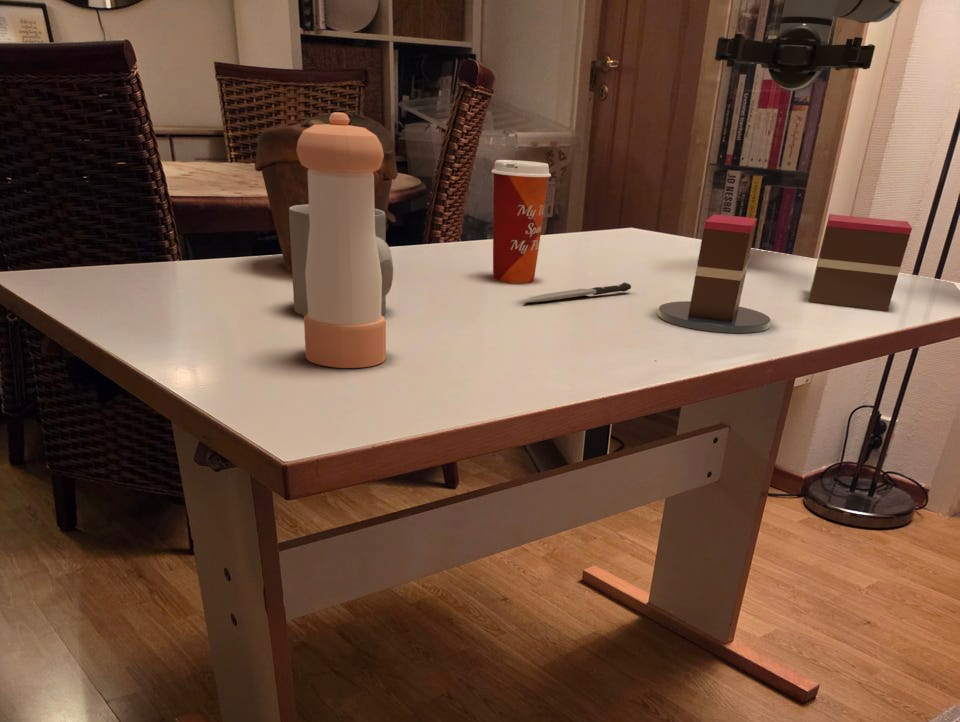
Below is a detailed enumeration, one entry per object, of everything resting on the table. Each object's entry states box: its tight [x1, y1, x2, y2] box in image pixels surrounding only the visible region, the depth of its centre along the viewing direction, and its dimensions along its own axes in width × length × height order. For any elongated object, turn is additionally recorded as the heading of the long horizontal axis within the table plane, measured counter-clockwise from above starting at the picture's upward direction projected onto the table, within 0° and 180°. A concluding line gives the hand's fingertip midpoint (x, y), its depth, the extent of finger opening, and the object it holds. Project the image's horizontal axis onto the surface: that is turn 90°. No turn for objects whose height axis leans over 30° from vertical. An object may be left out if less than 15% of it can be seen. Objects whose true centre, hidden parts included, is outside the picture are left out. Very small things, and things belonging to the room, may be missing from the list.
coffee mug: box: [289, 204, 394, 317], centre depth 91 cm, size 13×10×10 cm
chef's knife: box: [523, 281, 632, 303], centre depth 109 cm, size 19×1×3 cm
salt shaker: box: [296, 111, 387, 369], centre depth 74 cm, size 7×7×19 cm
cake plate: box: [657, 300, 771, 334], centre depth 102 cm, size 13×13×1 cm
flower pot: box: [254, 112, 399, 272], centre depth 111 cm, size 18×20×18 cm
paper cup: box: [490, 159, 552, 284], centre depth 113 cm, size 8×8×14 cm
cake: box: [808, 213, 913, 312], centre depth 115 cm, size 10×8×10 cm
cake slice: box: [688, 213, 758, 322], centre depth 99 cm, size 5×8×10 cm, turn 161°
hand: (790, 49), depth 109 cm, fingers open, 13 cm apart
